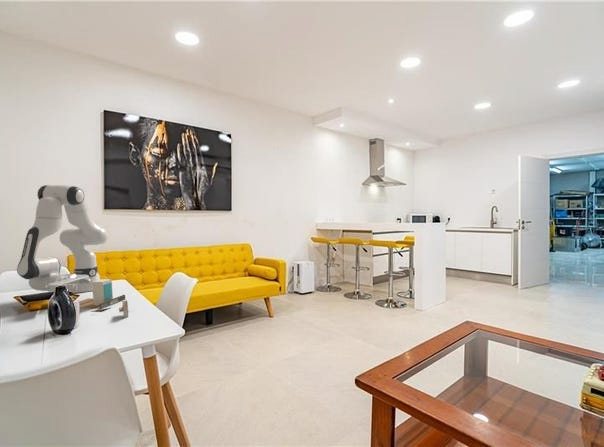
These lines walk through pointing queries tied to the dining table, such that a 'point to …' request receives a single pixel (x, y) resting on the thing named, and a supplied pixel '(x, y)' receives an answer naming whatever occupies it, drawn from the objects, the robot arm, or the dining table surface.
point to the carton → (102, 291)
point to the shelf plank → (89, 304)
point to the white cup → (77, 314)
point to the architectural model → (124, 308)
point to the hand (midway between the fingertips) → (82, 283)
